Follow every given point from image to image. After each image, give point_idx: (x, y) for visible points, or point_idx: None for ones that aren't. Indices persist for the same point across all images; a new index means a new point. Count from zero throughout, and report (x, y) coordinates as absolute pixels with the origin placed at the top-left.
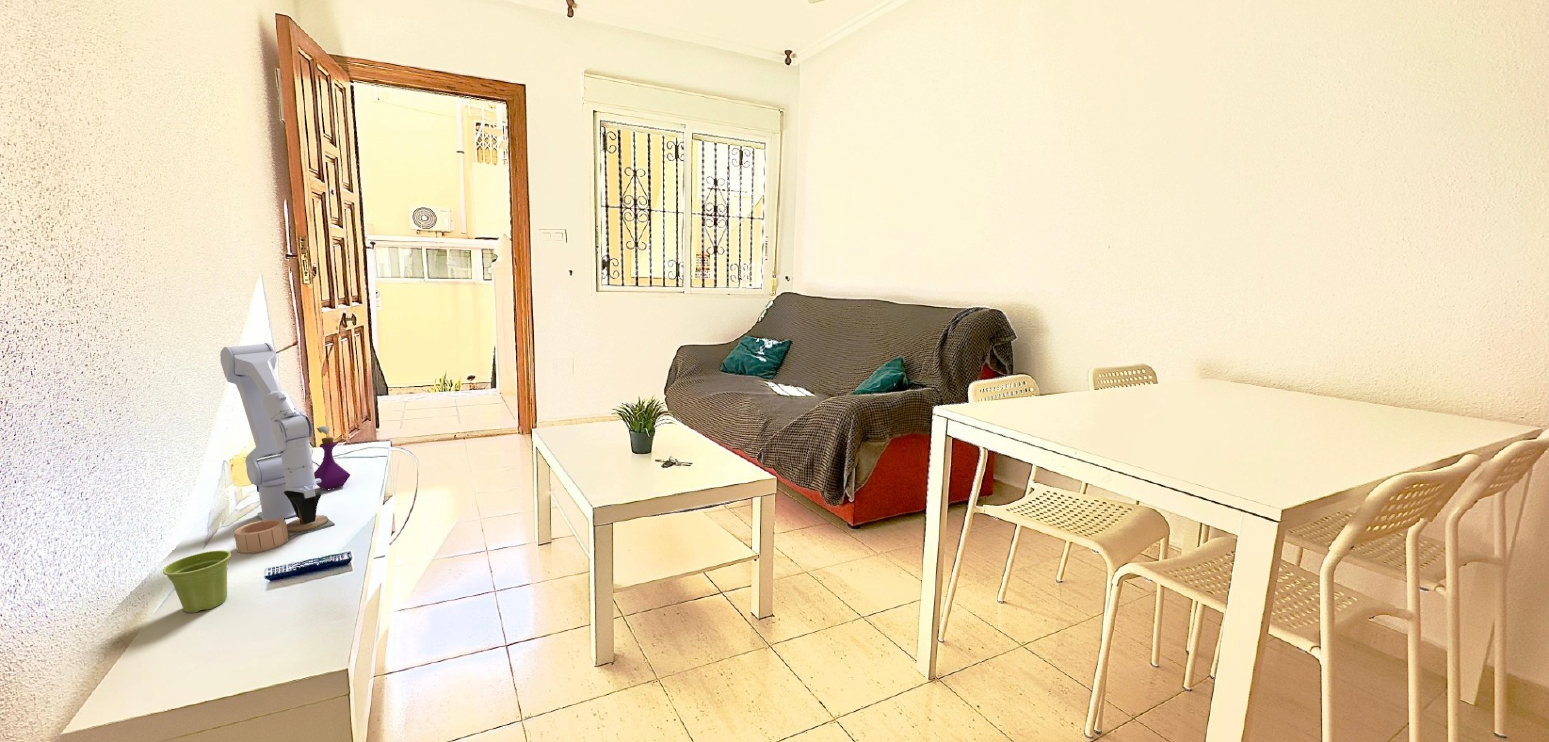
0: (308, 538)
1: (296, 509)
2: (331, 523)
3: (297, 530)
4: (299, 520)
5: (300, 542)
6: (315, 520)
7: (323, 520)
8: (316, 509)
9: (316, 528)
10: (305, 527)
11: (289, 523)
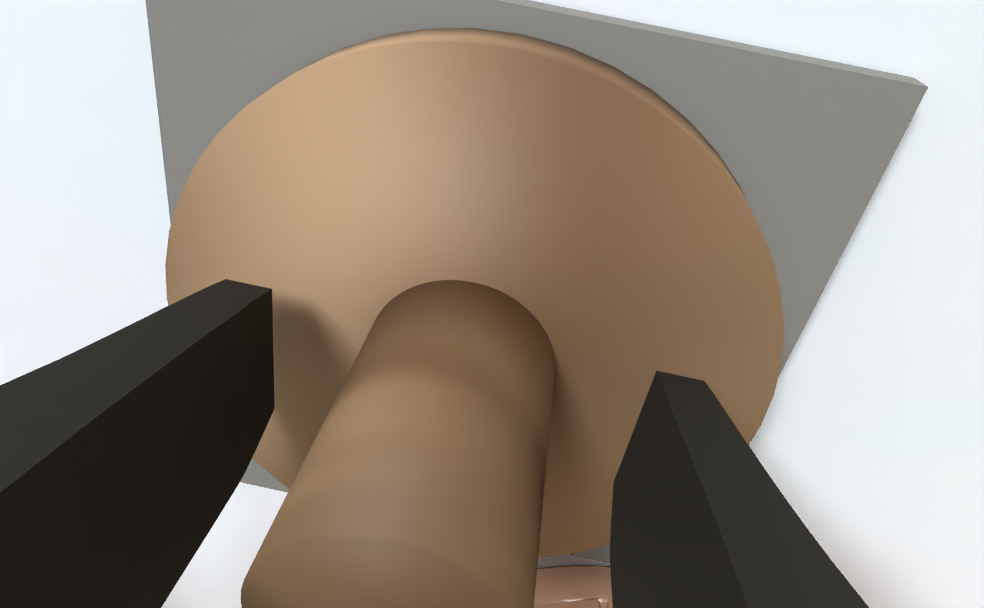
0: (971, 515)
1: (186, 554)
2: (850, 116)
3: None
4: (277, 369)
5: (980, 594)
6: (533, 273)
7: (691, 209)
8: (832, 563)
9: (787, 349)
10: None
11: (293, 469)
